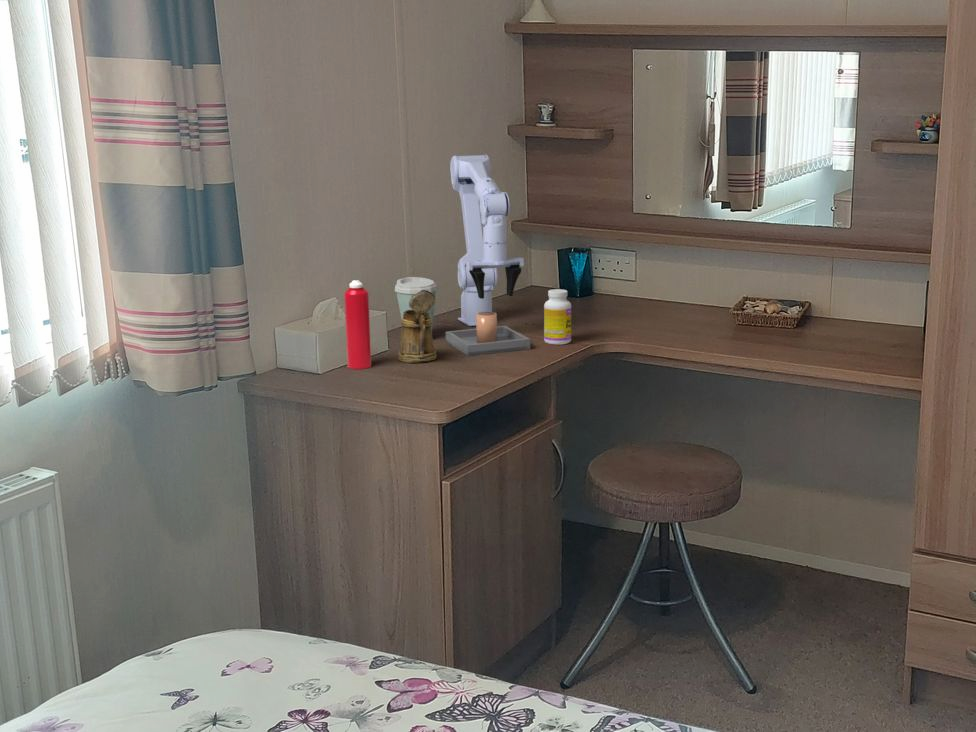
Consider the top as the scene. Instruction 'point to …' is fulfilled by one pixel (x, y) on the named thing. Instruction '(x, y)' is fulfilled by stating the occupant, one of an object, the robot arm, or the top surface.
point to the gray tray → (505, 342)
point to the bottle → (357, 326)
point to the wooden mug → (417, 330)
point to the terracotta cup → (486, 327)
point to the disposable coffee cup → (413, 292)
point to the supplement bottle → (557, 318)
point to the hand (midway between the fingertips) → (495, 296)
